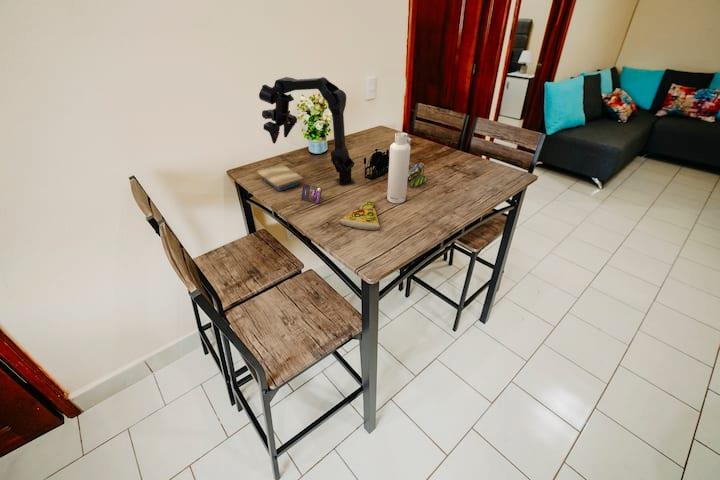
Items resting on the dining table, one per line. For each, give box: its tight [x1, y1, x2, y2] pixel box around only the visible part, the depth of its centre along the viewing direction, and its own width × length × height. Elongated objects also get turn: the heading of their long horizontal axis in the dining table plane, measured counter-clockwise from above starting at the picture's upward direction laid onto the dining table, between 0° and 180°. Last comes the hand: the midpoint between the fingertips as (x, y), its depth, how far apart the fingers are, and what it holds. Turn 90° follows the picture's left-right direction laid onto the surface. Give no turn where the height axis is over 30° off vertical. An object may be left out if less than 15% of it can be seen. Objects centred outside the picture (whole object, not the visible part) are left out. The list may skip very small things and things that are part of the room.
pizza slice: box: [340, 200, 381, 231], centre depth 133 cm, size 16×21×3 cm
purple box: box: [301, 183, 322, 205], centre depth 143 cm, size 7×5×9 cm
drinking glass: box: [407, 136, 412, 146], centre depth 180 cm, size 7×7×10 cm
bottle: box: [386, 131, 412, 204], centre depth 137 cm, size 8×8×28 cm
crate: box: [262, 177, 300, 192], centre depth 157 cm, size 16×10×3 cm, turn 40°
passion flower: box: [407, 162, 429, 188], centre depth 156 cm, size 11×11×12 cm
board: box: [256, 163, 304, 188], centre depth 156 cm, size 20×13×1 cm, turn 40°
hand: (279, 140), depth 160 cm, fingers open, 9 cm apart
